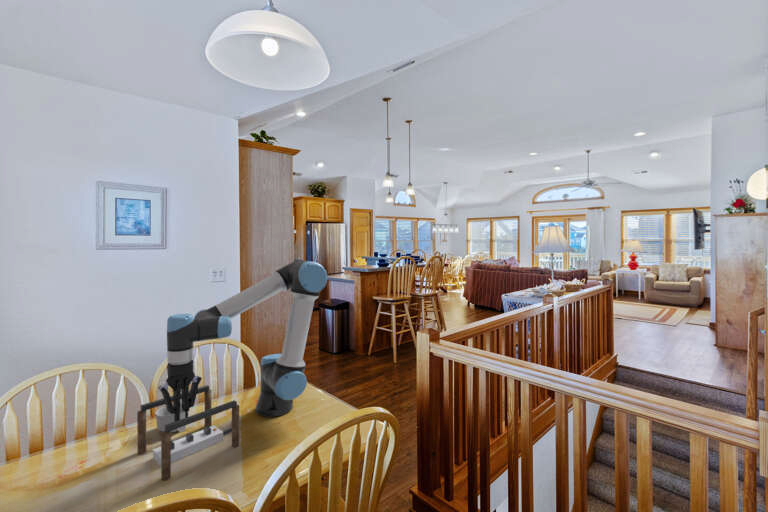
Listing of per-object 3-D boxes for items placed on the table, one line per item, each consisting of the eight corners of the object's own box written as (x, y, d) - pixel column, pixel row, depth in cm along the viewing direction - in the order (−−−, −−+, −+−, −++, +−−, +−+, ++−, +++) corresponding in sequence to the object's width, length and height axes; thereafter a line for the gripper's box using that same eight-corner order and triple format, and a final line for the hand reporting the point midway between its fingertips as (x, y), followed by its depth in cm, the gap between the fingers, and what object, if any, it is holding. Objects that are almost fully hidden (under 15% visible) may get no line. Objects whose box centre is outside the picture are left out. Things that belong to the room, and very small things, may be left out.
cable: (234, 404, 123) (234, 400, 123) (236, 406, 122) (236, 401, 122) (164, 430, 106) (164, 425, 106) (167, 432, 105) (167, 427, 105)
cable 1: (207, 389, 136) (207, 385, 136) (209, 390, 135) (209, 386, 135) (140, 409, 118) (140, 405, 118) (142, 411, 117) (142, 406, 117)
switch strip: (229, 426, 136) (229, 414, 136) (238, 433, 131) (239, 420, 131) (152, 458, 115) (152, 444, 115) (161, 467, 111) (161, 452, 111)
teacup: (173, 438, 127) (173, 416, 127) (148, 434, 129) (148, 413, 129) (201, 419, 141) (201, 399, 140) (177, 416, 143) (177, 397, 143)
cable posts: (209, 424, 137) (209, 388, 137) (240, 445, 124) (240, 406, 123) (136, 452, 118) (136, 411, 118) (163, 481, 104) (163, 435, 104)
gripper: (195, 354, 125) (196, 419, 126) (154, 363, 115) (155, 434, 116) (205, 358, 120) (206, 426, 121) (163, 369, 110) (164, 443, 111)
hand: (181, 430), depth 118 cm, fingers closed
